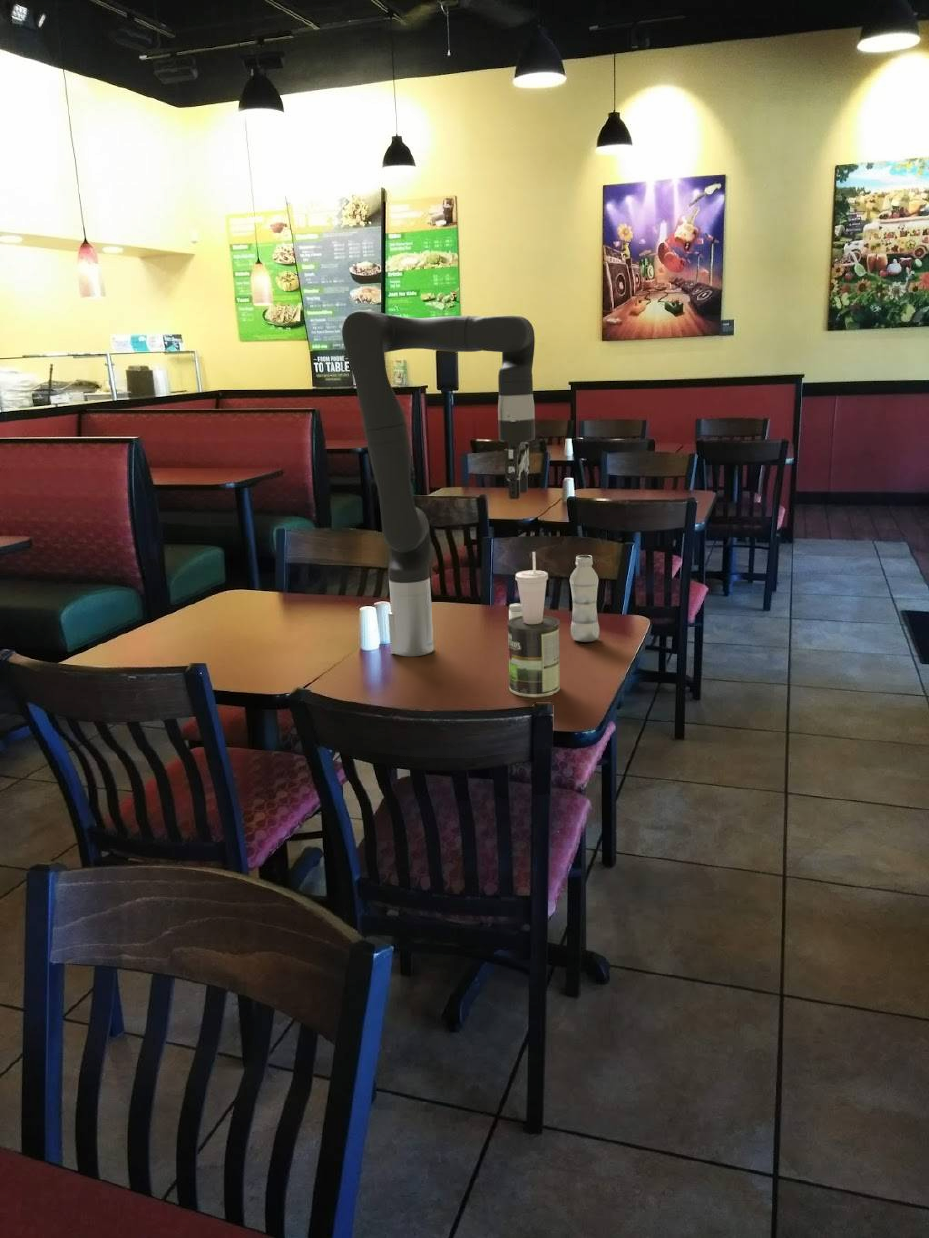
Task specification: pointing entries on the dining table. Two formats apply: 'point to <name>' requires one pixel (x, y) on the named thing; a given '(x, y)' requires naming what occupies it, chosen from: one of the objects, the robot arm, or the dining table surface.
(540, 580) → the smoothie
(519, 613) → the salt shaker
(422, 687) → the dining table surface
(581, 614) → the plastic bottle
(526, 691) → the coffee can
